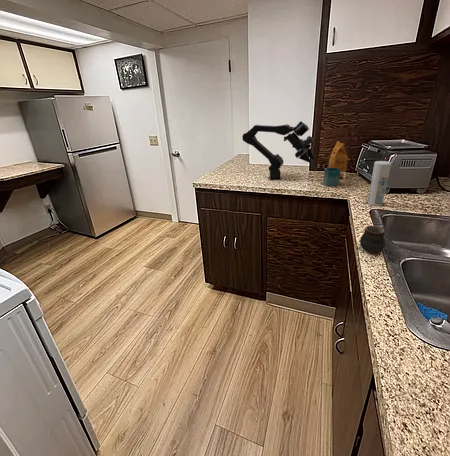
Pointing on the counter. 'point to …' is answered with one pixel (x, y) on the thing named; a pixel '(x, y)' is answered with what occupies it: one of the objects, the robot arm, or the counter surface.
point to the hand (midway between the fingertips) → (312, 160)
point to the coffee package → (338, 158)
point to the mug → (333, 176)
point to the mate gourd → (373, 239)
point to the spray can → (379, 182)
